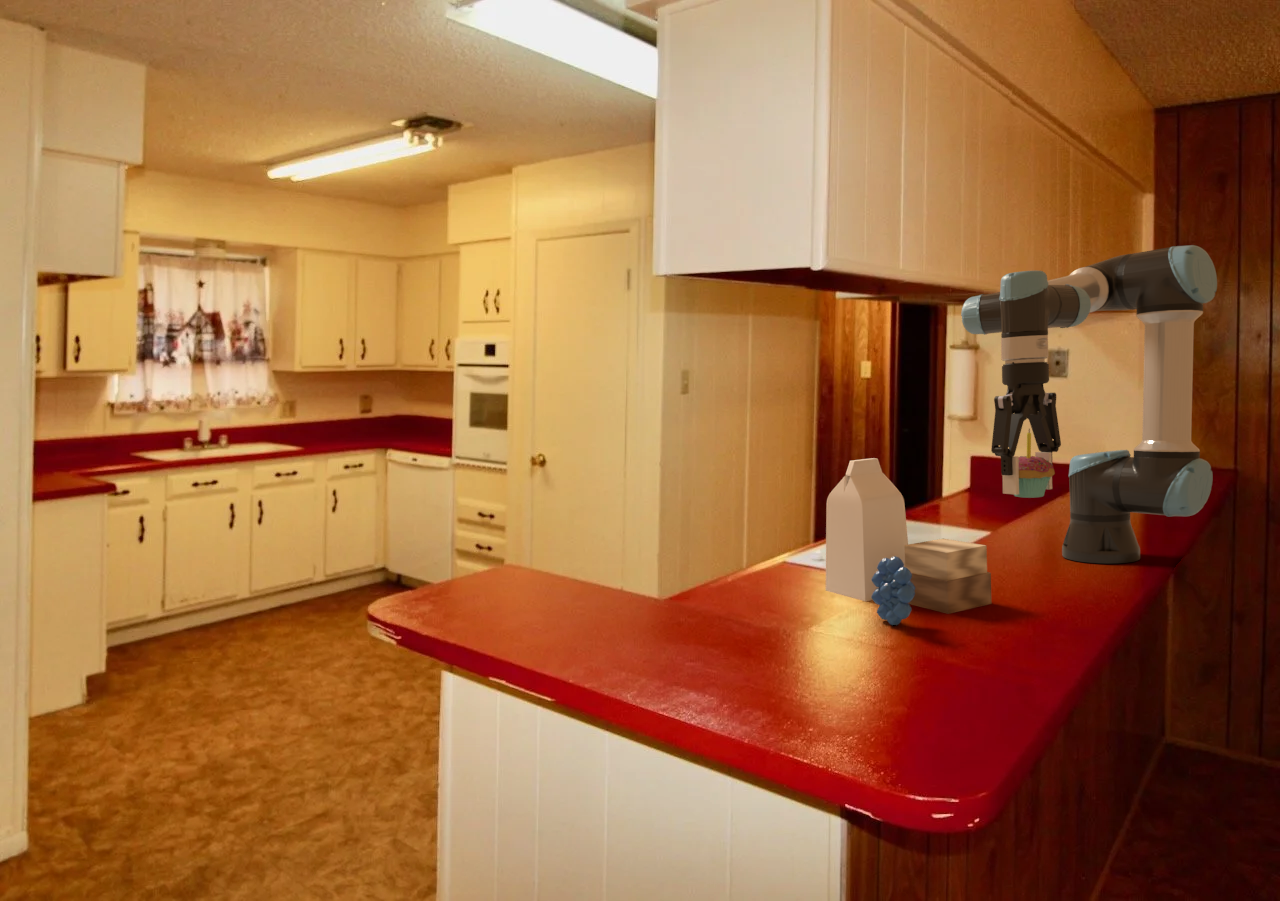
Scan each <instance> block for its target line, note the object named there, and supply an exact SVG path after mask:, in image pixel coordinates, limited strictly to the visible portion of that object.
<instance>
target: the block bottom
mask: <svg viewBox="0 0 1280 901" xmlns="http://www.w3.org/2000/svg"><path fill="white" fill-rule="evenodd" d="M910 581H911V582H912V583H913V584H914V586H915V595H914V597H913V599H912V600H911V601H910V602H909V603H908V604H909V605H910V606H911V605H912V606H916V607H920V608H923V609H927V610H932V611H935V612H939V613H944V614H947V615H949V614H953V613H958V612H962V611H967V610H972V609H975V608H980V607H983V606H988V605H992V604H993V603H992V572H989V571H987V573H984V574H979V575H974V576H969V577H964V578H959V579H954V580H950V581H945V580H941V579H936V578H931V577H927V576H922V575H917V574H913V573H912V577H911V579H910Z"/></svg>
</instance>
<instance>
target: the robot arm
mask: <svg viewBox="0 0 1280 901" xmlns="http://www.w3.org/2000/svg"><path fill="white" fill-rule="evenodd" d="M1217 278H1218V275H1217V272H1216V267H1215V265H1214V262H1213V260H1212V259H1211V257H1210V255H1209V254H1208V252H1207V251H1206V250H1205V249H1204V248H1202V247H1200V246H1198V245H1194V244H1191V245H1177V246H1176V245H1175V246H1174V245H1173V246H1170V247H1163V248H1158V249H1152V250H1146V251H1140V252H1134V253H1127V254H1122V255H1117V256H1114V257H1111V258H1108V259H1105V260H1102V261H1099V262H1096V263H1093V264H1090V265H1087V266H1084V267H1079V268H1077V269H1075V270H1074V271H1072V272H1071V273H1070V274H1069V275H1066V276H1065V275H1064V276H1062V277H1058V278H1053V279H1049V280H1048V276H1047V274H1046V272H1045V271H1043V270H1023V271H1022V270H1021V271H1014V272H1009V273H1005V275H1003V276H1002V277H1001V279H1000V289H999V290H1000V291H998V292H994V293H993V292H992V293H987V294H983V293H982V294H979V295H975V296H974V295H973V296H971V297H969V298H967V299H966V300H965V301H964V303H963V304H962V306H961V312H960V313H961V323H962V325H963V327H964V329H965V330H966V332H968V333H969V334H972V335H989V334H997V333H1001V335H1000V336H1001V338H1000V341H1001V342H1000V345H1001V346H1000V348H1001V349H1000V353H1001V354H1000V357H1001V358H1000V359H1001V360H1002V361H1003V362H1004V364H1002V366H1001V382H1002V384H1003V385H1004V386H1007V389H1006V393H1005V395H1000V396H999V395H996V396H995V397H994V399H993V402H994V403H993V404H994V408H995V409H994V410H995V412H994V420H993V430H992V431H993V432H992V438H991V439H992V442H991V451H990V452H991V453H992V454H994V455H995V456H996V457H1000V468H1001V469H1000V473H1001V476H1002V477H1001V478H1002V494H1004V495H1005V494H1006V495H1014V494H1015V495H1017V494H1019V464H1018V457H1019V456H1015V455H1016V451H1017V447H1018V443H1019V440H1020V436H1021V433H1022V429H1023V426H1024V422H1025V421H1026V420H1029V421H1028V422H1029V425H1030V427H1031V428H1030V429H1031V430H1032V433H1033V437H1034V440H1035V442H1036V446H1037V449H1038V451H1035V452H1034V453H1035V454H1034V456H1035V457H1041V458H1043V459H1045V460H1048V461H1049V462H1050V463H1051V464H1052V465H1053V453H1057V452H1058V451H1059V448H1060V447H1061V446H1062V442H1061V435H1060V434H1061V433H1060V428H1059V421H1058V420H1059V419H1058V414H1057V413H1058V412H1057V407H1056V405H1057V393H1056V392H1046V391H1045V389H1044V388H1045V387H1044V384H1048V383H1049V381H1050V363H1048V362H1047V361H1045V359H1048V358H1049V339H1048V338H1049V329H1054V328H1055V329H1056V328H1060V329H1065V328H1066V329H1067V328H1068V329H1069V328H1070V327H1076V326H1078V325H1080V324H1082V323H1083V322H1085V320H1086V319H1087V318H1088V316H1089V314H1090V313H1094V312H1103V311H1106V312H1108V311H1133V310H1136V314H1135V315H1136V318H1137V319H1139V321H1141V322H1142V324H1143V325H1144V335H1143V336H1144V337H1143V338H1144V339H1143V341H1144V342H1143V346H1144V348H1143V349H1144V350H1143V386H1142V388H1143V390H1142V401H1143V402H1142V432H1141V433H1142V434H1141V435H1142V437H1141V438H1142V439H1141V442H1140V443H1139V444H1138V445H1137V446H1135V447H1134V448H1133V456H1131V454H1130V453H1131V452H1130V451H1129V450H1128V449H1120V450H1119V449H1117V450H1110V451H1108V450H1107V451H1099V452H1098V451H1097V452H1091V453H1083V454H1077V455H1074V456H1073V457H1072V458H1071V459H1070V461H1069V469H1068V474H1067V475H1068V478H1069V480H1068V482H1069V514H1070V516H1069V517H1070V518H1069V519H1070V520H1069V525H1068V528H1067V531H1066V532H1065V533H1066V534H1065V536H1064V540H1063V543H1062V548H1061V555H1062V557H1063V558H1064V559H1067V560H1069V561H1070V560H1071V561H1075V562H1080V563H1091V564H1108V565H1109V564H1110V565H1111V564H1125V563H1134V562H1138V561H1139V560H1140V559H1141V547H1140V545H1139V543H1138V540H1137V537H1136V533H1135V531H1134V528H1133V527H1132V522H1131V513H1136V514H1146V515H1147V514H1148V515H1158V516H1166V517H1169V518H1170V517H1190V516H1194V515H1196V514H1198V513H1199V512H1200V511H1201V510H1202V509H1203V508H1204V506H1205V504H1206V503H1207V502H1208V499H1209V498H1210V494H1211V491H1212V486H1213V470H1212V466H1211V464H1210V463H1209V462H1208V461H1207V460H1206V459H1203V458H1200V456H1201V455H1200V454H1201V453H1200V452H1201V451H1200V448H1199V447H1197V446H1196V444H1194V443H1193V441H1192V427H1193V426H1192V420H1193V419H1192V415H1193V414H1192V413H1193V377H1194V376H1193V375H1194V374H1193V371H1194V337H1195V336H1194V330H1195V328H1194V327H1195V321H1196V320H1197V319H1198V318H1199V317H1201V316H1202V315H1203V313H1204V304H1208V303H1209V302H1211V301H1212V300H1214V298H1215V296H1216V292H1217V289H1218V279H1217ZM1046 490H1053V476H1051V478H1050V480H1049V481H1048V484H1047V487H1046Z"/></svg>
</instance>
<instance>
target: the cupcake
mask: <svg viewBox="0 0 1280 901" xmlns="http://www.w3.org/2000/svg"><path fill="white" fill-rule="evenodd" d="M1031 446H1032V432H1031V428H1028V432H1027V433H1026V456H1025V455H1024V456H1022V455H1021V456H1017V457H1018V464H1019V494H1017V495H1015V494H1013V496H1014V497H1018V498H1023V499H1024V498H1028V499H1031V498H1034V499H1035V498H1042V497H1044V496H1045V492H1046V490H1047V489H1046V487H1047V484H1048V481H1049V480H1050V478H1051V476H1052V477H1053V476H1054V475H1055V474H1056V472H1055V469H1054V464H1053V463H1052V464H1051V463H1050V462H1049V461H1048V460H1045V459H1043V458H1041V457H1035V455H1034V456H1033V455H1031V454H1032V447H1031Z"/></svg>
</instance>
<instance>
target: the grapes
mask: <svg viewBox="0 0 1280 901" xmlns="http://www.w3.org/2000/svg"><path fill="white" fill-rule="evenodd" d="M903 566H904V563H903V561H902V560H901V559H900V558H899V557H896V556H894V557H891V558H890V559H889V558H884V559H882V560H881V561H880V562H879V564H878V567H877V569H878V570H879V571H877V572H876V573H875V574H874V575H873V577H872V582H873V584H874V585H875V586H876V587H879V588H877V589H876V590H875V591H874V592H873V594H872V597H871V598H872V599H873V600H872V601H873V602H874V603H875V604H876V605H878V608H877V610H876V614H877V615H878V616H879V618H880V619H882V620H884V621H887V622H888V624H889V625H890V626H893V625H896V626H898V625H900V623H901V622H902V620H906V619H907V618H908V617H909V616H910V614H911V612H912V607H911V604H908V603H909V602H910V601H911V600H912V599H913V597H914V595H915V586H914V584H913V583H912V582H911V581H910V579H911V577H912V573H911V572H910V570H909V569H908V568H906V567H903Z"/></svg>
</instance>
